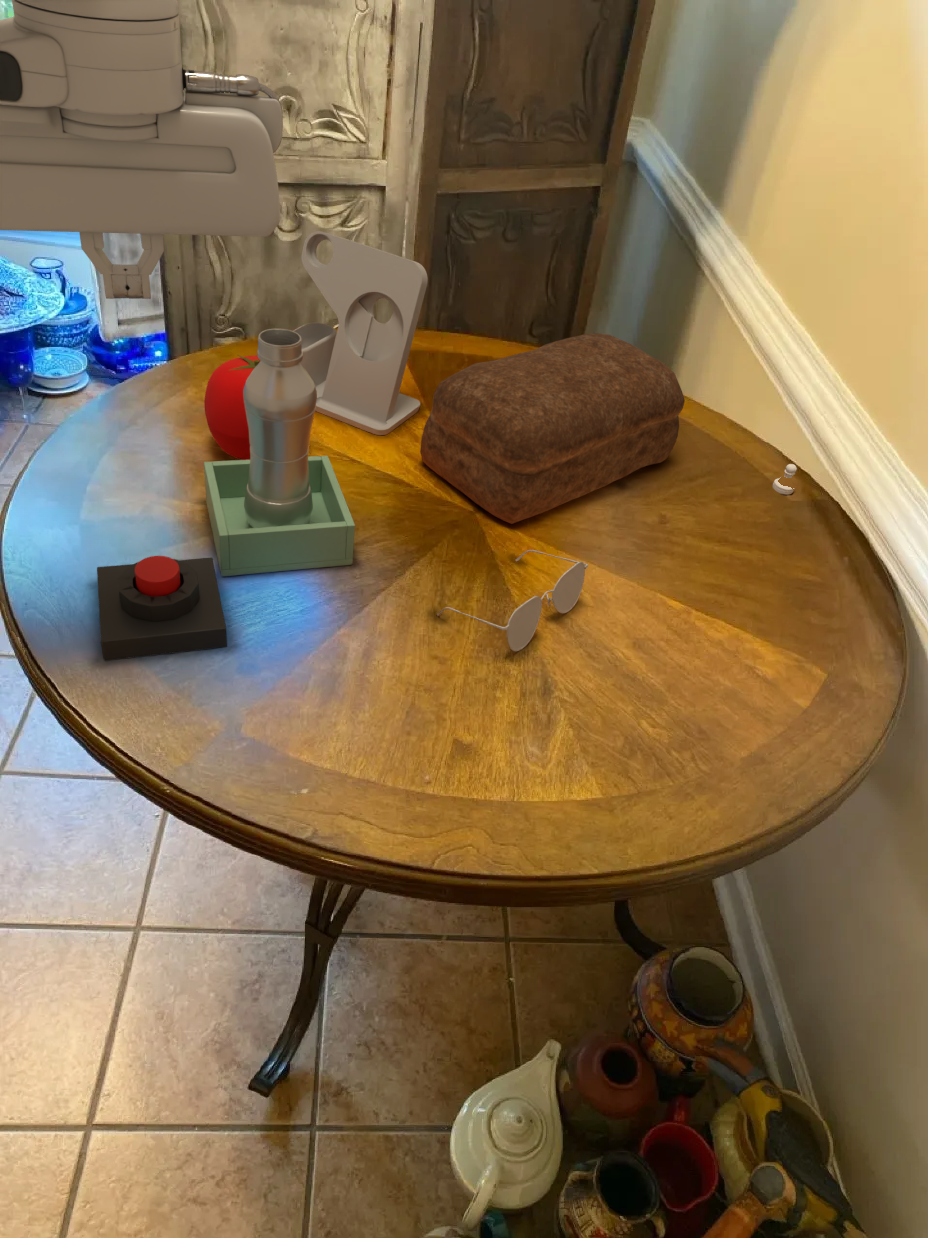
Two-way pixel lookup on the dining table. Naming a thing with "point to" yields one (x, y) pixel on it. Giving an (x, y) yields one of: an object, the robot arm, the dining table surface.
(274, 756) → the dining table surface
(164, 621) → the block
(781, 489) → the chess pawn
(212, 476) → the tray
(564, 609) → the sunglasses
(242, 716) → the dining table surface
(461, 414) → the bread
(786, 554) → the dining table surface
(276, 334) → the metal bottle
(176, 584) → the button
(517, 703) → the dining table surface
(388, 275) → the phone holder
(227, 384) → the tomato
